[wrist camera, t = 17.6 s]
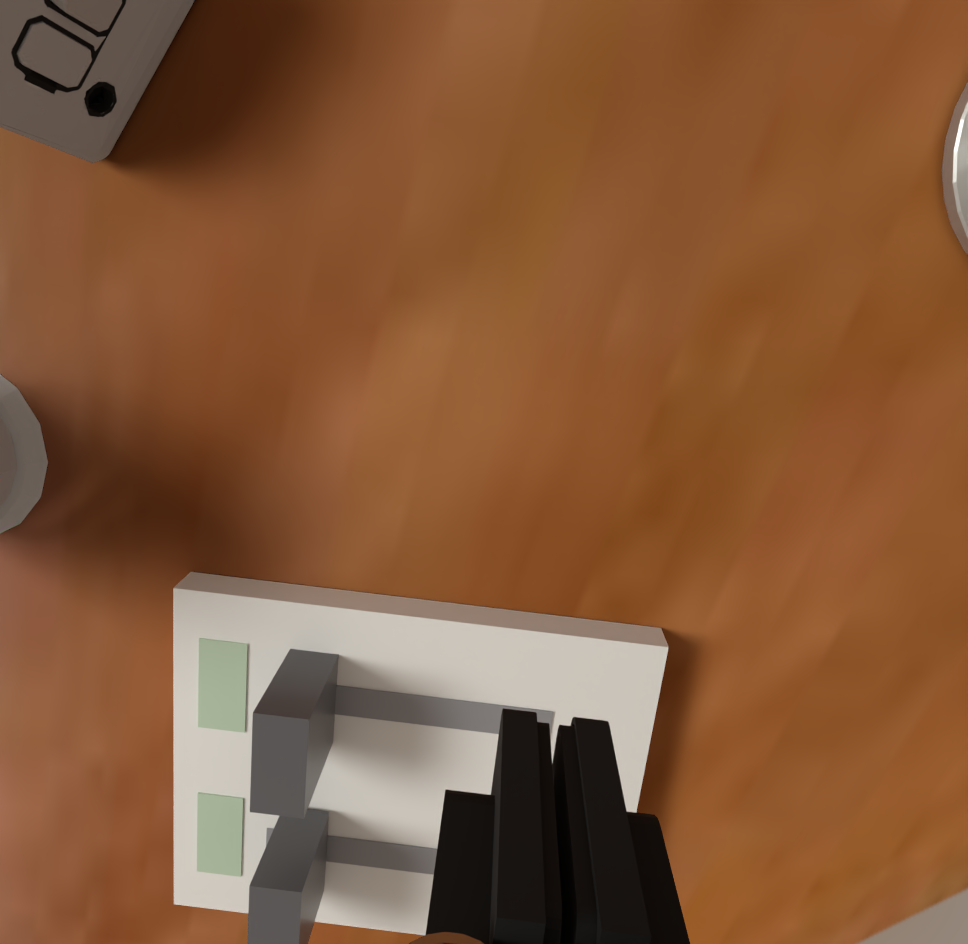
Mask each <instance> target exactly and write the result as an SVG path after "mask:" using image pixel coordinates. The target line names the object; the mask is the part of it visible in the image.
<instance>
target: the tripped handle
mask: <svg viewBox="0 0 968 944" xmlns="http://www.w3.org/2000/svg"><path fill="white" fill-rule="evenodd" d="M328 822H329V812H322V811H314V810H307V812H306V814H305V817H304V819H302V818H294V817H286V816H279V818H278V820H277V823H276V825H275V827H274V830H273V832H272V834H271V837H270V839H269V841H268V844H267V846H266V848H265V851H264V853H263V855H262V858H261V860H260V862H259V865H258V867H257V869H256V872H255V874H254V876H253V879H252V881H251V883H250V886H249V912H248V944H308V941H309V938H310V935H311V931H312V928H313V925H314V922H315V918H316V915H317V912H318V909H319V905H320V902H321V899H322V895H323V892H324V884H325V869H326V853H327V838H328Z"/></svg>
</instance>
